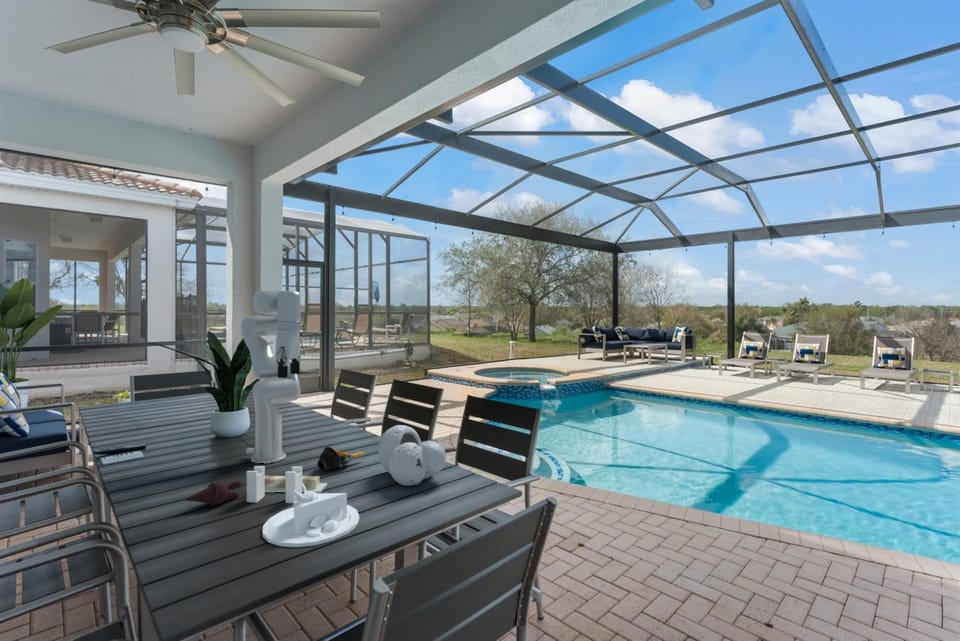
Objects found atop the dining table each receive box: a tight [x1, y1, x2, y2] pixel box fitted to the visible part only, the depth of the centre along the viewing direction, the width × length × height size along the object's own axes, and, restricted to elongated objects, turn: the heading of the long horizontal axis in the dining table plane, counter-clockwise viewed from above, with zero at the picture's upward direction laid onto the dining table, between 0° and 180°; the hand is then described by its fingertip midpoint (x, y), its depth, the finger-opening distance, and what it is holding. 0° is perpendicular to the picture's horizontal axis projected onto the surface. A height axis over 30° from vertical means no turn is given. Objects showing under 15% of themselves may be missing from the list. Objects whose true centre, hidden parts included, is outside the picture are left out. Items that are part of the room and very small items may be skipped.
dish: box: [262, 481, 360, 548], centre depth 126 cm, size 25×25×11 cm
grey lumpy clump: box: [378, 424, 447, 487], centre depth 161 cm, size 20×25×22 cm
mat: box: [245, 482, 328, 493], centre depth 151 cm, size 24×7×1 cm, turn 89°
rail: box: [265, 475, 321, 489], centre depth 151 cm, size 20×3×3 cm, turn 89°
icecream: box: [185, 480, 242, 507], centre depth 138 cm, size 7×7×15 cm
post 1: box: [245, 465, 266, 504], centre depth 142 cm, size 3×5×10 cm, turn 179°
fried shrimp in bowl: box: [317, 446, 366, 472], centre depth 173 cm, size 9×11×18 cm
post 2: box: [284, 465, 303, 504], centre depth 142 cm, size 3×5×10 cm, turn 179°
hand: (289, 375), depth 159 cm, fingers open, 9 cm apart
